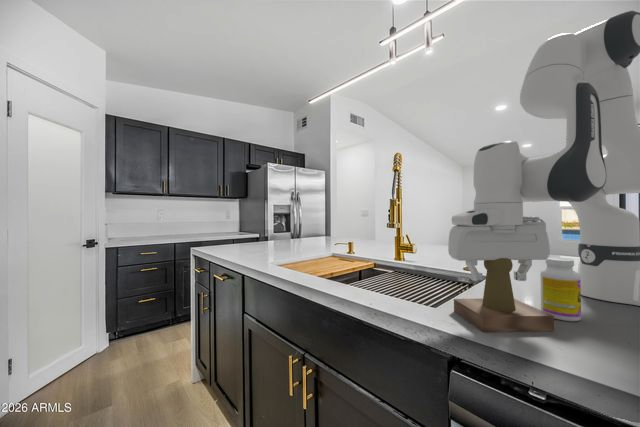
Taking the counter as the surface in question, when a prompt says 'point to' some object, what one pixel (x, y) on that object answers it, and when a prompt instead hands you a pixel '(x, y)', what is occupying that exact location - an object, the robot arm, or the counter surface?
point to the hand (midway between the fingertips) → (498, 280)
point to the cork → (498, 285)
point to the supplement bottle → (561, 290)
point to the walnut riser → (504, 317)
